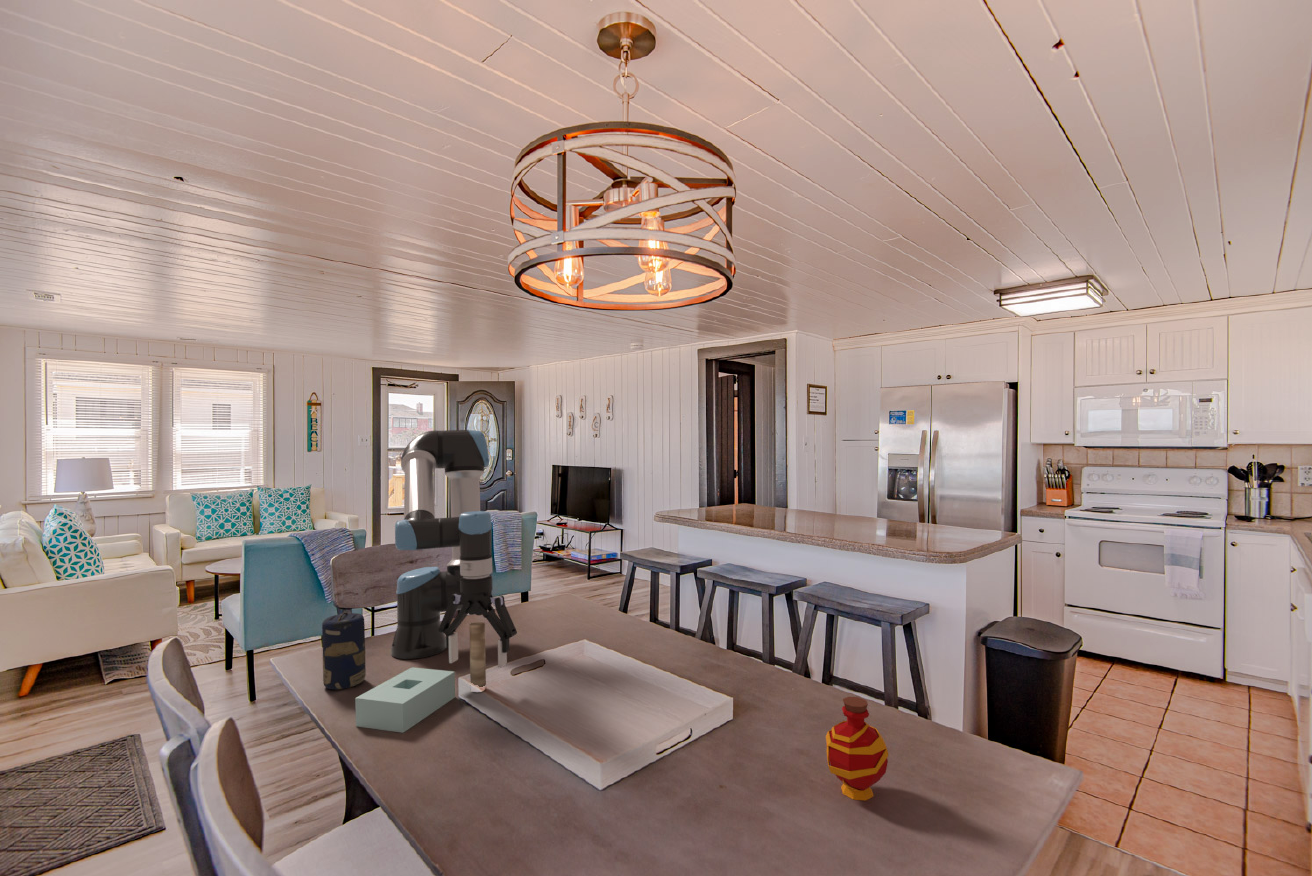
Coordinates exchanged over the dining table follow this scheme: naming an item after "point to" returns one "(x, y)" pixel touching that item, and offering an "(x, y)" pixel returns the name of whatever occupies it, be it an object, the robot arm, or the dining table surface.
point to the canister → (343, 650)
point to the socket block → (405, 699)
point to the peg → (477, 654)
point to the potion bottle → (856, 751)
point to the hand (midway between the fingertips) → (477, 663)
